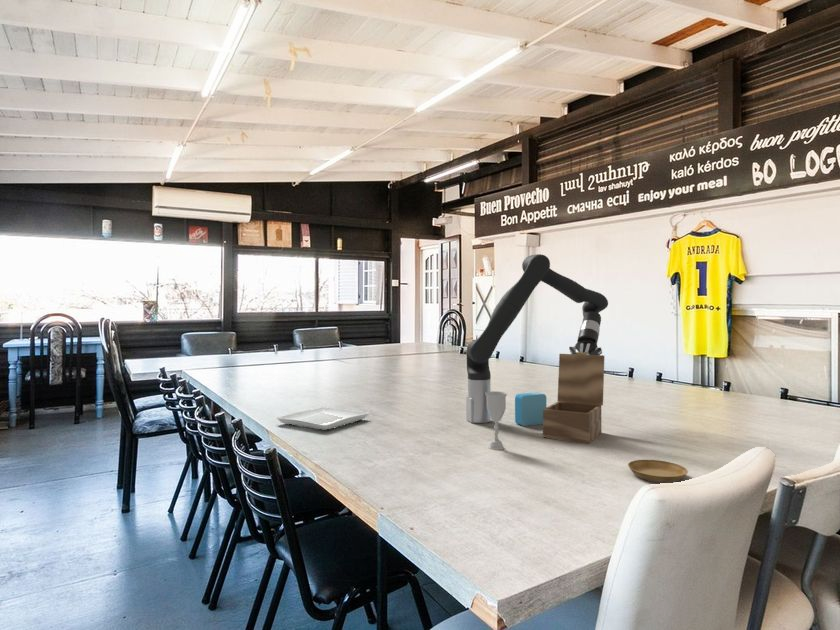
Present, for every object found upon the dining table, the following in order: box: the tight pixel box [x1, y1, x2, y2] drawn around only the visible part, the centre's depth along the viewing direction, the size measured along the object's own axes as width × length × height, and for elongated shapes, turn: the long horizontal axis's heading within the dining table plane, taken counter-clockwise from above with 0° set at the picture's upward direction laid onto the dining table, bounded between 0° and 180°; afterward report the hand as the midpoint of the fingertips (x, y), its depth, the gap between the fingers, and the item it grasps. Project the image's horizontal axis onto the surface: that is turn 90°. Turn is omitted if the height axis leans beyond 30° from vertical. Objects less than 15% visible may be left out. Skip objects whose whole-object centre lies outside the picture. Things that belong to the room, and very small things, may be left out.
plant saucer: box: [627, 459, 689, 484], centre depth 137 cm, size 15×15×3 cm
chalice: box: [485, 391, 508, 451], centre depth 166 cm, size 7×7×18 cm
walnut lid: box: [557, 351, 605, 406], centre depth 191 cm, size 19×17×2 cm
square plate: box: [275, 406, 371, 431], centre depth 205 cm, size 27×27×4 cm
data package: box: [514, 391, 547, 427], centre depth 200 cm, size 12×4×12 cm, turn 112°
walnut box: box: [542, 400, 602, 444], centre depth 182 cm, size 18×16×10 cm
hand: (581, 367), depth 193 cm, fingers closed
